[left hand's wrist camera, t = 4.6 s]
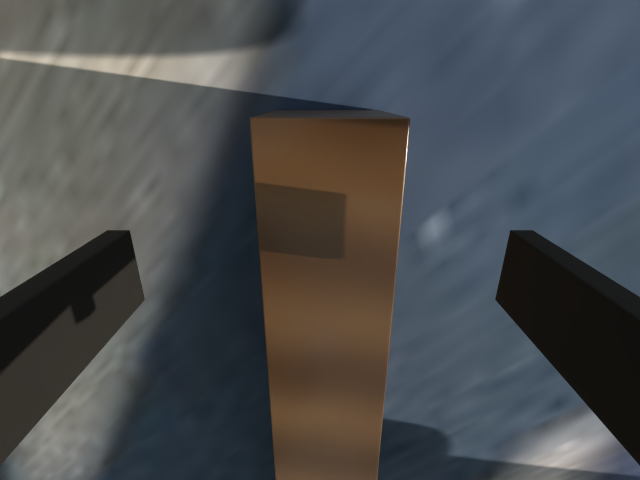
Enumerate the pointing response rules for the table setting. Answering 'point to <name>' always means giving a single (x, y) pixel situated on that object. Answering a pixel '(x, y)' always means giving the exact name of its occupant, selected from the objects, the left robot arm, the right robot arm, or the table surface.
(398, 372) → the table surface
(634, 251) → the table surface
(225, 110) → the table surface
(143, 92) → the table surface
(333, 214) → the post
